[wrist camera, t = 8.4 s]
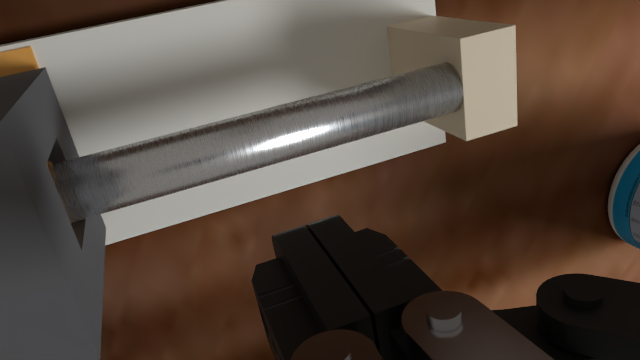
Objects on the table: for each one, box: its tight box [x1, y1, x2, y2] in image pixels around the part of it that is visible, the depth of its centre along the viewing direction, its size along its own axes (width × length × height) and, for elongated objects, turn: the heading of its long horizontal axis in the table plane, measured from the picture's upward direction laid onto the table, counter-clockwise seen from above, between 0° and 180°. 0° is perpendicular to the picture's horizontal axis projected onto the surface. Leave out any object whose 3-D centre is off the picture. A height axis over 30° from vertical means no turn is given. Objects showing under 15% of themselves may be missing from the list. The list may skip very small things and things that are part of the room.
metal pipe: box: [47, 62, 463, 225], centre depth 19 cm, size 24×2×2 cm, turn 101°
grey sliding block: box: [0, 67, 106, 360], centre depth 17 cm, size 3×7×9 cm, turn 11°
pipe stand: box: [0, 0, 517, 245], centre depth 21 cm, size 26×9×7 cm, turn 101°
